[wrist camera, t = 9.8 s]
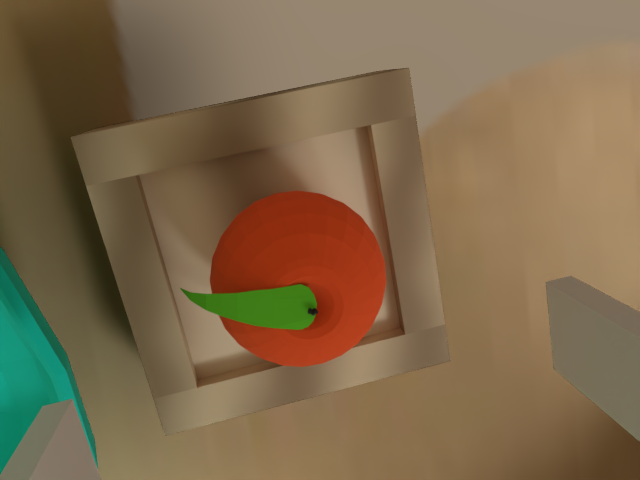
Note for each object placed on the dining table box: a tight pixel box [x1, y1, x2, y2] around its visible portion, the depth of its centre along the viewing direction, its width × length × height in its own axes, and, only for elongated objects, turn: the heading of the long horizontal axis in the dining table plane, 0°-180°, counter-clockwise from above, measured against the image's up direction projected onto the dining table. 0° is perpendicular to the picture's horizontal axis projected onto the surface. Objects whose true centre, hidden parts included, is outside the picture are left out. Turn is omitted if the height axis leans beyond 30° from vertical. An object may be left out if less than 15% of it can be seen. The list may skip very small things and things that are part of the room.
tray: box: [71, 68, 450, 436], centre depth 27 cm, size 14×14×5 cm
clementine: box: [180, 190, 386, 367], centre depth 22 cm, size 8×7×7 cm
